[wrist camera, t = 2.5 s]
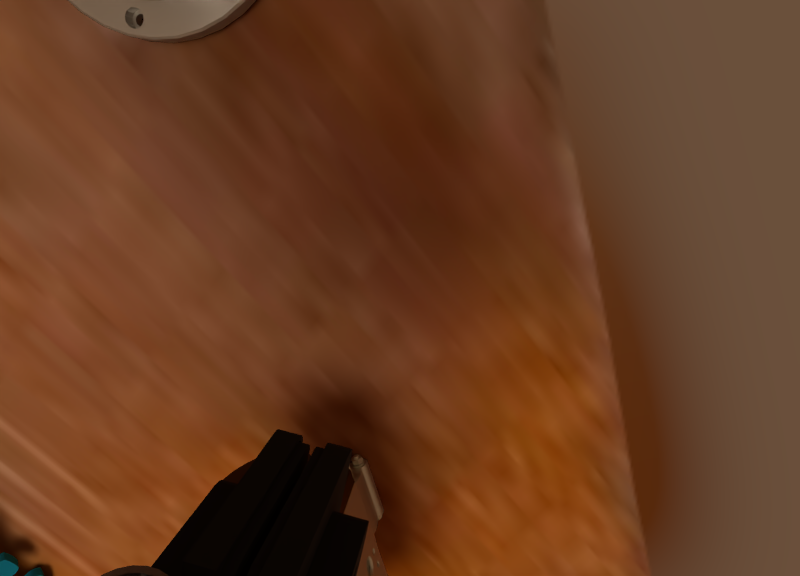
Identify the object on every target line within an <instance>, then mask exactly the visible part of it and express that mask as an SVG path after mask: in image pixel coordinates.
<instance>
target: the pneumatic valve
mask: <svg viewBox="0 0 800 576" xmlns="http://www.w3.org/2000/svg"><path fill="white" fill-rule="evenodd" d="M310 457H311V455H310V454H309V455H308V461H309V459H310ZM254 461H255V459H254V460H252V461H250V462H248V463H246V464H244V465H243V466H241V467H239V468H238V469H236V470H235V471H233V472H232V473H231V474H229V475H228V476H227V477H226V478H224V479H223V480H225V481H229V482H232V483H236V484H238V483H239V481H240V480H241V479H242V477H243V476H244V475H245V473H246V472H247V470H248V469H249V468H250V466H251V465H252V463H253V462H254ZM308 461H307V463H308ZM351 461H352V463H350V465H349V470H348V475H347V479H346V484H345V489H344V494H343V498H342V503H341V508H340V512H339V513H343V514H346V515H350V516H353V517H357V518H361V519H364V520H368V521H369V525H368V529H367V534H366V538H365V542H364V547H363V551H362V555H361V559H360V563H359V567H358V571H357V575H356V576H388V575H387V572H386V569H385V566H384V564H383V561H382V558H381V555H380V552H379V549H378V546H377V544H376V538H375V535H374V534H375V532H376V529H377V526H378V520H380V519H381V518H382V514H383V512H384V508H383V505H382V502H381V499H380V497H379V494H378V491H377V488H376V485H375V482H374V479H373V476H372V473H371V470H370V467H369V464H368V461H367V460H366V459H363V458H362V456H361V455H358V454H355V455H354V456H353V458H352V459H351Z"/></svg>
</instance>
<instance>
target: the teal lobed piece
mask: <svg viewBox="0 0 800 576" xmlns="http://www.w3.org/2000/svg"><path fill="white" fill-rule="evenodd" d="M18 569H19V567H18V560H17V559H16V558H15V557H14V556H12V555H10V554H8V553H5V552H3V553H0V576H13V575H14V574H15V573H16V572H17V571H18ZM24 576H44V574H43V571H42V569H41V567H39V568H34V569H32V570H30V571H29V572H28V573H27V574H26V575H24Z"/></svg>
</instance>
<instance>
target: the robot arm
mask: <svg viewBox="0 0 800 576" xmlns="http://www.w3.org/2000/svg"><path fill="white" fill-rule="evenodd" d="M68 1H69V2H70V3H71V4H72V5H73V6H75V7H76V8H77V9H78V10H79V11H80V12H81V13H83V14H84V15H86V16H88V17H89V18H91V19H92V20H94V21H96V22H97V23H99V24H100V25H102V26H104V27H106V28H109V29H111V30H114V31H117V32H119V33H122V34H124V35H127V36H130V37H135V38H139V39H143V40H147V41H151V42H170V43H176V42H182V41H188V40H194V39H199V38H202V37H204V36H206V35H209V34H211V33H214V32H216V31H219V30H221V29H223V28H224V27H226V26H227V25H228V24H230V23H231V22H233V21H234V20H236V19H237V18H239V17H240V16H241V15H243V14H244V13H245V12H246V11H247V10H248V9H249V7H250V6H251V5H252V4H253V3H254V2H255V1H256V0H68ZM142 18H143V19H144V21H143V24H142ZM302 442H303V437H302V435H298V434H294V433H290V432H287V431H283V430H279V429H278V430H276V432H275V433H274V434H273V436H272V437H271V438H270V440H269V441H268V443H267V444H266V445H265V447H264V448H263V449H262V451H261V452H260V454H259V455H258V456H257V458H256V459H255V461H254V462H253V463H252V465H251V466H250V468H249V469H248V470H247V472H246V473H245V475H244V476H243V477H242V479H241V480H240V481H239V483H238V484H236V483H232V482H229V481H225V480H221V481H219V482H218V483H217V484H216V485H215V486H214V487H213V488H212V490H211V491H210V492H209V494H208V495H207V496H206V497H205V499H204V500H203V501H202V503H201V504H200V505H199V506H198V508H197V509H196V510H195V511H194V513H193V514H192V515H191V517H190V518H189V519H188V520H187V522H186V523H185V524H184V526H183V527H182V528H181V529H180V531H179V532H178V533H177V534H176V536H175V537H174V538H173V540H172V541H171V542H170V543H169V545H168V546H167V547H166V549H165V550H164V551H163V552H162V554H161V555H160V556H159V557H158V559H157V560H156V561H155V563H154V564H153V565H152V566H151V567H149V566H134V565H133V566H127V567H122V568H117V569H115V570H112V571H110V572H108V573H105V574H103V575H101V576H356V575H357V571H358V567H359V563H360V559H361V555H362V551H363V547H364V542H365V538H366V534H367V529H368V525H369V521H368V520H364V519H361V518H357V517H353V516H350V515H346V514H343V513H339V512H340V508H341V503H342V498H343V494H344V489H345V484H346V479H347V475H348V470H349V465H350V461H351V456H352V449H350V448H346V447H342V446H339V445H335V444H331V443H327V445H326V446H325V448H324V449H323V448H319V447H316V448H315V450H314V452H313V454H312V455H311V457H310V459H309V461H308V455H309V450H310V445H308V444H305V443H302ZM307 461H308V463H307Z"/></svg>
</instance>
